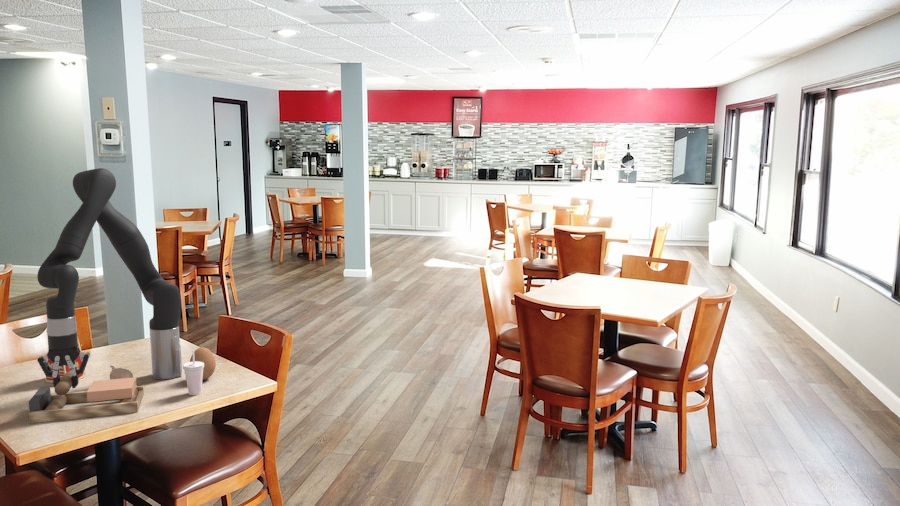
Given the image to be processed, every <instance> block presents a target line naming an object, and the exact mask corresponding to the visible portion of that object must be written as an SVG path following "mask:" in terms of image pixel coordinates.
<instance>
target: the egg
mask: <svg viewBox="0 0 900 506" xmlns="http://www.w3.org/2000/svg"><path fill="white" fill-rule="evenodd" d="M194 357H195V361H200V362H204V365H205V366H204V367H203V379H202V381H206V380H208V379H210V378H211V377H212V376H213V374H214V372H215V370H216V359H215V358H216V357H215V356H214V354H213V352H212V351H211V350H210V348H207V347H204V346H203V347H198V348H196V349H195V350H194ZM189 362H193V354H191V357H190V359H189Z"/></svg>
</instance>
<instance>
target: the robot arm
mask: <svg viewBox="0 0 900 506" xmlns="http://www.w3.org/2000/svg"><path fill="white" fill-rule="evenodd" d="M72 187H73V189H74V190H73V191H74V192H75V194H76V195H77V197H78V198H79V200H81V202H82V204H81V205H80V206H79V208H78V209H77V211H76V212H75V213H74V214H73V216H71V218H70V219H69V220H68V221H67V222H66V224H65V226H64V228H63V229H62V231H61V233H60V235H59V237H58V239H57V242H56V245H55V246H54V247H55V248H54V249H53V250H52V251H51V252H50V253H49V254H48V256H47V257H46V259H44V261H43V262H42V264H41V265H40V267H39V268H38V271H37V281H38V284H39V286H41V287H42V288H45V289H46V288H47V289H57V290H58V291H57V294H56V295H54V296H51V297H49V298H47V300H46V302H45V304H46V305H45V307H46V320H47V321H46V335H47V346H48V349H49V351H47V353H46V354H44V355H40V356H39V357H38V358H37V364H39V367H40V368H41V370H42V372H43V373H44V375H45V377H46V376H51V377H53V383H52V384H53V387H54V389H55V386H56V385H57V384H58V382H59V381H60V375H59V370H60V367H61V366H63V365H66V366H68V367H69V369H70V371H71V374H72V376H71V379H72V387H71V388H72V389H75V388H76V387H77V386H78V385H79V383H80V382H79V380H78V374H81V373H83V371H84V370H85V371H86V368H87V364H88V362H89V359H90V356H91V352H83V351H81V352H80V350H79V348H78V340H79V337H78V338H77V336H78V328H77V327H78V325H77V324H78V323H77V320H76V315H75V313H76V312H75V298H76V295H77V290H78V286H79V281H80V275H79V272H78V270H77V268H76V267H74V266H73V265H71V264H69V263H70V262H75V261H78V260H79V259H80V258H81V256H82V254H83V251H84V249H85V246H86V245H87V242H88V239H89V237H90V234H91V232H92V231H93V228H94V226H95V224H96V222H97V223H98V225H99V226H100V227H101V229H102V231H103V232H104V233H105V236H106V237H107V238H108V239H109V242H110V244H111V245H112V246H113V248H114V249H115V251H116V253H117V254H118V256H119V258H120V259H121V260H122V262H123V264H124V265H126V268H127V269H128V270H129V271H130V272H131V274H132V275H133V277H134V279H135V281H136V283H137V285H138V287H139V289H140V291H141V293H142V295H143V297H144V299H145V300H146V302H147V303H148V304H149V305H151V306H152V310H153V311H152V312H153V313H152V314H153V315H152V316H153V317H151V319H150V320H149V323H148V325H149V337H150V338H149V339H150V343H149V344H150V356H151V370H152V371H151V372H152V373H151V374H152V378H153V379H155V380H169V379H170V380H171V379H174V378H177V377H178V378H180V377H181V376H182V372H183V364H182V347H181V340H180V319H181V316H182V315H181V313H182V311H181V305H182V304H181V301H182V300H181V291H180V288H179V287H178V286H177V285H176V284H175V283H173V282H171V281H167V280H165V279H164V278H163V277H162V275H161V274H160V273H159V271H158V270H157V268H156V267H155V264H154V263H153V260H152V256H151V252H150V251H151V250H150V249H149V245H148V243H147V240H146V239H145V237H144V236H143V234H142V232H141V231H140V229H139V228H138V227H137V225H135V223H134V222H132V221H131V220H130V219H129V218H127V217H126V216H125V215H124V214H122V213H121V212H119V211H118V210H117V209H116V208H115V207H114V206H113V205H112V203H111V202H110V199H111V198H112V196H113V194H114V192H115V190H116V187H117V180H116V177H115V175H114V174H113V172H111V171H110V170H108V169H106V168H100V167H99V168H92V169H88V170H87V169H86V170H82V171H80V172H77V173H76V174H75V175H74V177H73V180H72ZM78 356H80V357H81V358H80V359H81V360H82V363H81V366H80V369H77V367H76V362H75V360H76V359H77V357H78ZM48 358H49V359H50V360H51V361H52V362H53V363H54V367H53V371H52V370H51V369H50V367H49V365H48V363H47V361H48Z"/></svg>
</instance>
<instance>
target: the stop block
mask: <svg viewBox="0 0 900 506" xmlns="http://www.w3.org/2000/svg"><path fill="white" fill-rule="evenodd" d="M51 394H52V393H51V386H50V385H48V386H40V387H39V388H38V389H37V391H36V392H35V393H34V394H33V396H32V397H31V398H30V399H29V401H28V409H29V412H33V411H43V410H45V409H46V407H47V406H48V404H49V403H50V402H51Z"/></svg>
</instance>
